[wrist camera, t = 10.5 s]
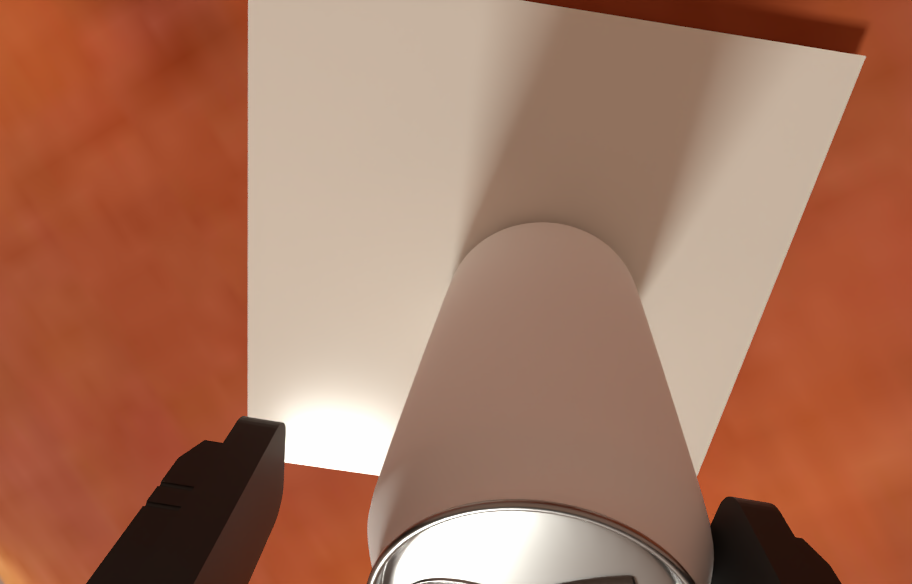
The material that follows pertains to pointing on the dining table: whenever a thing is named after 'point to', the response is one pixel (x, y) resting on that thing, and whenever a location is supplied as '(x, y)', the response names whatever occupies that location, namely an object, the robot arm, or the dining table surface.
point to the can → (539, 432)
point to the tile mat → (508, 188)
